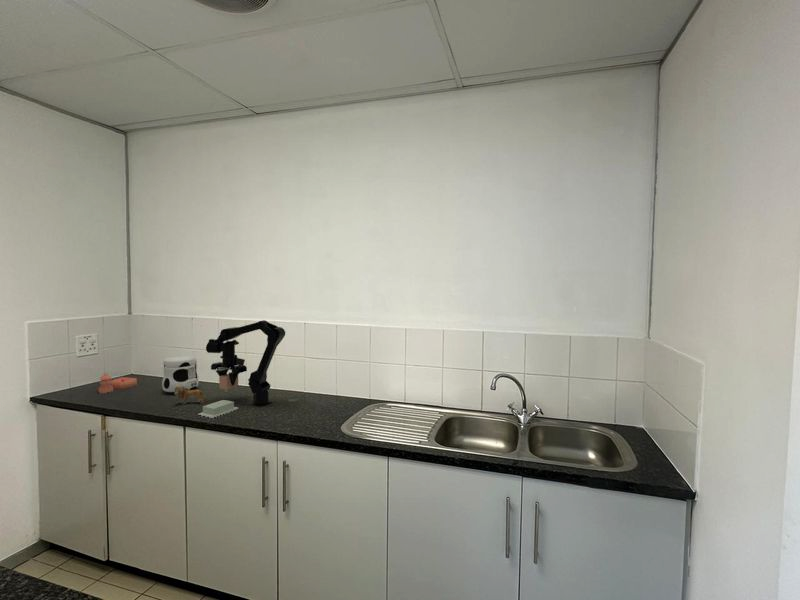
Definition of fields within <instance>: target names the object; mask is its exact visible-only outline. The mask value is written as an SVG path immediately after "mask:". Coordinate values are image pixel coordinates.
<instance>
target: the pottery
mask: <svg viewBox="0 0 800 600" xmlns="http://www.w3.org/2000/svg"><path fill="white" fill-rule="evenodd" d="M108 374H109V373H104V374H103V375H102V376H101V377H99V379H100V381H99V384H100V386H99V387H98V393H99V394H108V393H107V392H109V393H112V392H114V390H115V389H116V390H125V388H126V389H129V388H132V387H135V386H134V385H136V386H137V385H138V380H137V379H138V378H137V377H125V376H123V377H118V378H114V379H112V376H111V375H108ZM131 386H132V387H131ZM128 387H129V388H128ZM111 391H112V392H111Z"/></svg>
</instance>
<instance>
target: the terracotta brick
mask: <svg viewBox="0 0 800 600" xmlns="http://www.w3.org/2000/svg"><path fill="white" fill-rule="evenodd" d="M218 377H219V379H218V381H219V389H220V390H230V389H234V388H237V387H239V375H238V376H237V378H236V381H235V384H234V385H233V386H232V385H231V381H230V377H229V373H227V374H226V375H222V376H219V375H218Z"/></svg>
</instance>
